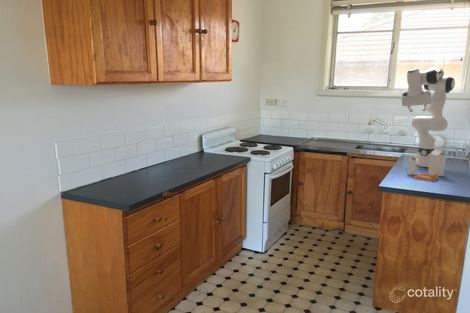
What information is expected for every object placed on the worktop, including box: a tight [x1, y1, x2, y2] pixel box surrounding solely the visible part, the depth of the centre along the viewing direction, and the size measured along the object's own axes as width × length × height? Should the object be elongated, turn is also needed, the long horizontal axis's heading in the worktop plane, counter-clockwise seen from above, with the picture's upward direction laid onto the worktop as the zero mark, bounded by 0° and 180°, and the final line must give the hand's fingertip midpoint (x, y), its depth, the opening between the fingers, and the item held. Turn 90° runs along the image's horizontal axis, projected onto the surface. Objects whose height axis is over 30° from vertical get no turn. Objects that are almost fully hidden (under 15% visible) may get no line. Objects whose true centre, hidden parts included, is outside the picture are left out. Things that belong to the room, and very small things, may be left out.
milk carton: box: [427, 147, 447, 177], centre depth 272 cm, size 7×7×19 cm
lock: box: [407, 156, 419, 176], centre depth 273 cm, size 5×6×12 cm
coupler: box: [413, 173, 439, 182], centre depth 263 cm, size 14×12×4 cm
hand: (417, 111), depth 273 cm, fingers open, 8 cm apart
